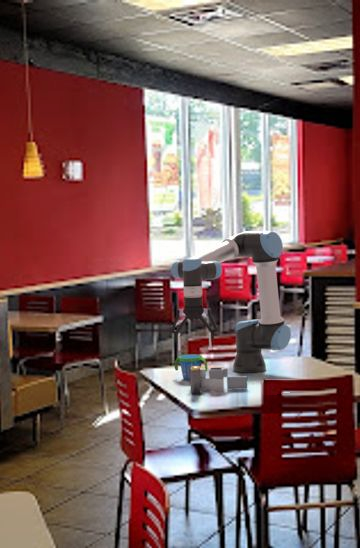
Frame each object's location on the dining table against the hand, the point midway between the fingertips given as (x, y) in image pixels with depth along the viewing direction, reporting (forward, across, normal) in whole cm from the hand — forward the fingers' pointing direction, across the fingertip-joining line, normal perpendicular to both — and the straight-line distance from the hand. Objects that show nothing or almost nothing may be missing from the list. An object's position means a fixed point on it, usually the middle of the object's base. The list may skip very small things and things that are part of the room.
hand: (194, 349), depth 335 cm
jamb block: (+18, 0, +11) cm, 21 cm away
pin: (+18, 0, 0) cm, 18 cm away
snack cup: (+19, -4, +32) cm, 37 cm away
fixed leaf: (+18, +4, +8) cm, 20 cm away
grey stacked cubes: (+18, +13, +8) cm, 24 cm away
